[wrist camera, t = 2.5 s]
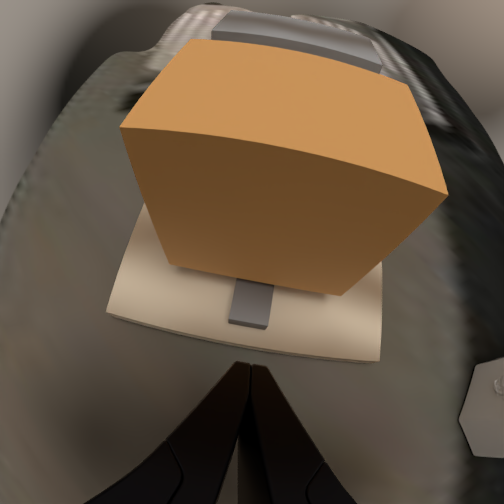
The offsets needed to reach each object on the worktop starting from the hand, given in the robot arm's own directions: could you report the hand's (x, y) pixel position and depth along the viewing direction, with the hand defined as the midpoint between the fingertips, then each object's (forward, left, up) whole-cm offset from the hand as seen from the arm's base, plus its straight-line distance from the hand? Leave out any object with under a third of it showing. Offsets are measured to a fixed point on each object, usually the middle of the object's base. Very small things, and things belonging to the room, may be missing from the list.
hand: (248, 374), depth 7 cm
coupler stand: (+12, +8, -9) cm, 16 cm away
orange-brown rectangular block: (+7, +4, -6) cm, 10 cm away
